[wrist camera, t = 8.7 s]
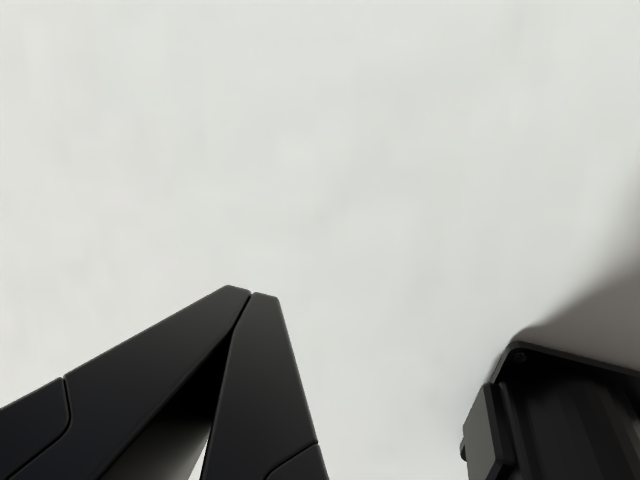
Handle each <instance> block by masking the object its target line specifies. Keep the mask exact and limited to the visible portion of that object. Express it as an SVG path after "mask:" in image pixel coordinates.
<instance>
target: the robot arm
mask: <svg viewBox="0 0 640 480" xmlns="http://www.w3.org/2000/svg"><path fill="white" fill-rule="evenodd" d="M516 353H524V354H523V355H522V356H519V357H517V356H514V355H515V354H516ZM463 435H464V438H463V440H462V442H461V444H460V455H461V458H462V459H463V460H464V461H466V462H467V468H468V477H469V480H640V372H638V371H634V370H631V369H627V368H623V367H619V366H615V365H611V364H607V363H604V362H600V361H596V360H592V359H588V358H584V357H580V356H577V355H573V354H569V353H565V352H561V351H557V350H553V349H550V348H546V347H542V346H538V345H534V344H530V343H526V342H522V341H516V342H512V343H511V344H509V345H508V346H507V347H506V349H505V351H504V353H503V355H502V357H501V359H500V362H499V364H498V366H497V368H496V370H495V372H494V374H493V376H492V378H491V381H490V382H487V383H485V384H484V385H482V386H481V389H480V391H479V393H478V395H477V397H476V399H475V401H474V404H473V406H472V408H471V410H470V412H469V414H468V416H467V419H466V421H465V423H464V425H463ZM207 440H208V442H207ZM206 442H207V447H206V452H205V456H204V461H203V465H202V470H201V475H200V479H199V480H329V477H328V474H327V471H326V468H325V464H324V460H323V457H322V453H321V449H320V446H319V445H318V440H317V436H316V432H315V429H314V425H313V422H312V418H311V414H310V411H309V407H308V403H307V400H306V396H305V393H304V389H303V385H302V382H301V378H300V375H299V371H298V367H297V364H296V360H295V356H294V353H293V349H292V346H291V342H290V338H289V335H288V331H287V328H286V324H285V320H284V317H283V313H282V309H281V306H280V302H279V300H278V298H277V297H274V296H270V295H266V294H262V293H258V292H255V293H253V294H251V292H250V291H249V290H247V289H243V288H239V287H235V286H231V285H226V286H223V287H222V288H220V289H218V290H216V291H214V292H213V293H211V294H209V295H207V296H205V297H204V298H202V299H200V300H198V301H196V302H194V303H193V304H191V305H189V306H187V307H185V308H184V309H182V310H180V311H178V312H176V313H175V314H173V315H171V316H169V317H167V318H166V319H164V320H162V321H160V322H158V323H157V324H155V325H153V326H151V327H149V328H147V329H146V330H144V331H142V332H140V333H138V334H137V335H135V336H133V337H131V338H129V339H128V340H126V341H124V342H122V343H120V344H119V345H117V346H115V347H113V348H111V349H109V350H108V351H106V352H104V353H102V354H100V355H99V356H97V357H95V358H93V359H91V360H90V361H88V362H86V363H84V364H82V365H81V366H79V367H77V368H75V369H73V370H72V371H70V372H68V373H66V374H65V375H64V376H63V378H61V377H59V378H57V379H55V380H53V381H51V382H49V383H48V384H46V385H44V386H42V387H40V388H39V389H37V390H35V391H33V392H31V393H29V394H27V395H25V396H23V397H21V398H19V399H18V400H16V401H14V402H12V403H10V404H8V405H6V406H4V407H2V408H0V480H188V479H189V477H190V475H191V473H192V471H193V469H194V466H195V464H196V462H197V460H198V458H199V456H200V454H201V452H202V450H203V448H204V446H205V444H206Z"/></svg>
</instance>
